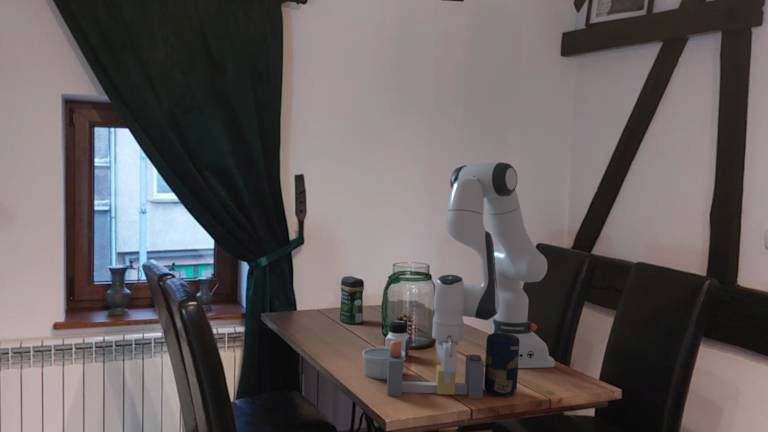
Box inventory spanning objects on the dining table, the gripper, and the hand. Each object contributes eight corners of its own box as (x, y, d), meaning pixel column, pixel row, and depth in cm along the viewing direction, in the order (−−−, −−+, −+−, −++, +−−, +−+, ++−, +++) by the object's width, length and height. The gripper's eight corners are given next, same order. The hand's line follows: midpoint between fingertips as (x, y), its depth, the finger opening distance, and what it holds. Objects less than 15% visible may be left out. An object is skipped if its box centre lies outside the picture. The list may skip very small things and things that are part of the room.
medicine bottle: (405, 360, 236) (407, 325, 235) (384, 358, 237) (385, 323, 236) (409, 355, 243) (410, 320, 242) (388, 353, 244) (390, 318, 243)
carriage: (452, 388, 208) (453, 365, 208) (454, 394, 203) (455, 371, 202) (435, 387, 208) (436, 365, 208) (437, 394, 203) (438, 370, 202)
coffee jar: (336, 320, 289) (337, 275, 287) (352, 318, 294) (353, 274, 292) (349, 325, 281) (351, 279, 280) (365, 323, 286) (367, 278, 285)
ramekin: (375, 365, 229) (376, 344, 228) (411, 373, 222) (412, 351, 222) (353, 375, 218) (354, 353, 217) (390, 384, 211) (391, 361, 210)
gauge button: (400, 354, 206) (401, 340, 206) (401, 357, 203) (402, 343, 202) (390, 353, 206) (390, 340, 206) (390, 356, 203) (390, 343, 202)
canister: (498, 385, 213) (501, 326, 212) (523, 394, 206) (526, 333, 205) (476, 391, 207) (480, 331, 206) (502, 400, 200) (505, 338, 199)
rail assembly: (477, 388, 210) (479, 351, 209) (482, 398, 201) (484, 360, 200) (387, 385, 210) (388, 348, 209) (387, 395, 201) (389, 357, 200)
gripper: (463, 341, 194) (460, 391, 195) (454, 324, 214) (452, 368, 215) (440, 341, 193) (437, 390, 195) (433, 323, 214) (431, 368, 215)
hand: (445, 378), depth 205 cm, fingers closed on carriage, 6 cm apart
